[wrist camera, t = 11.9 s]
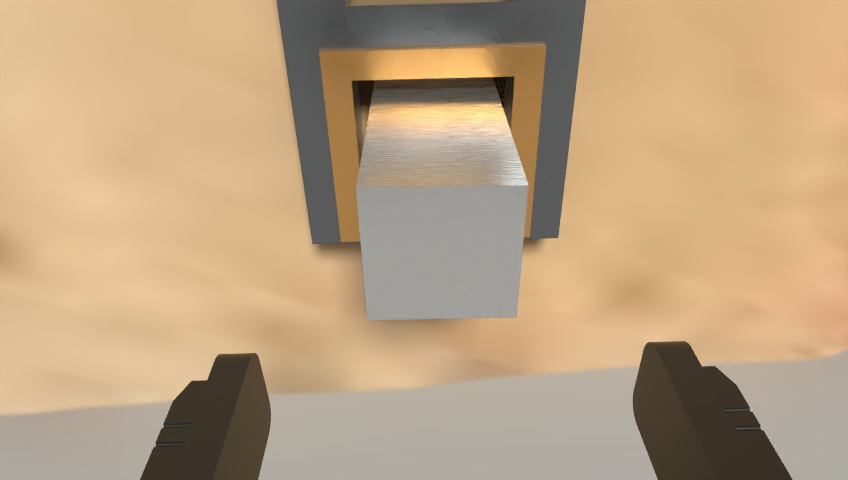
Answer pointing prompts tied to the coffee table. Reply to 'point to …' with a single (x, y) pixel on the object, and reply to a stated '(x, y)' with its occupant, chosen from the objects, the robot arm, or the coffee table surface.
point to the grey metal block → (440, 202)
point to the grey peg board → (427, 59)
